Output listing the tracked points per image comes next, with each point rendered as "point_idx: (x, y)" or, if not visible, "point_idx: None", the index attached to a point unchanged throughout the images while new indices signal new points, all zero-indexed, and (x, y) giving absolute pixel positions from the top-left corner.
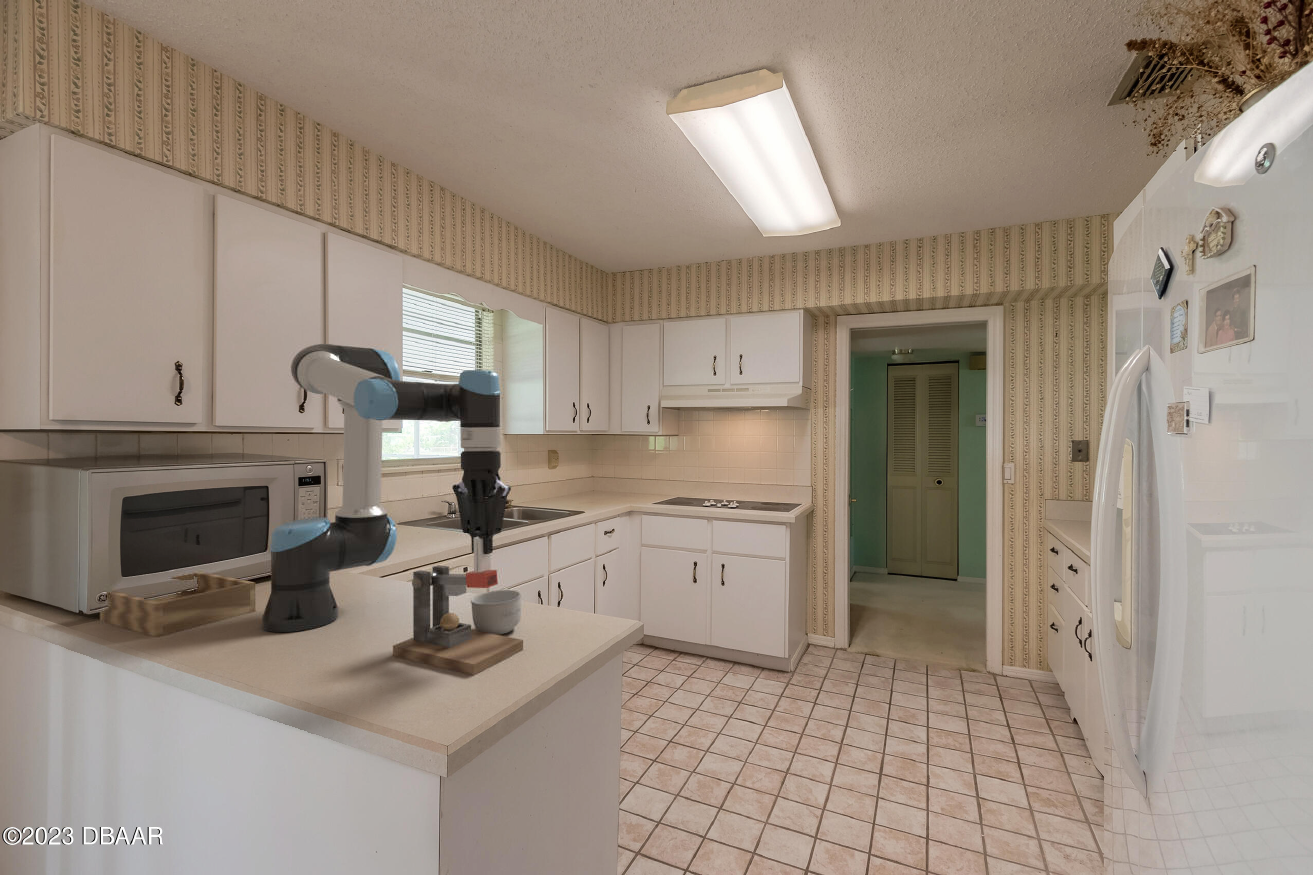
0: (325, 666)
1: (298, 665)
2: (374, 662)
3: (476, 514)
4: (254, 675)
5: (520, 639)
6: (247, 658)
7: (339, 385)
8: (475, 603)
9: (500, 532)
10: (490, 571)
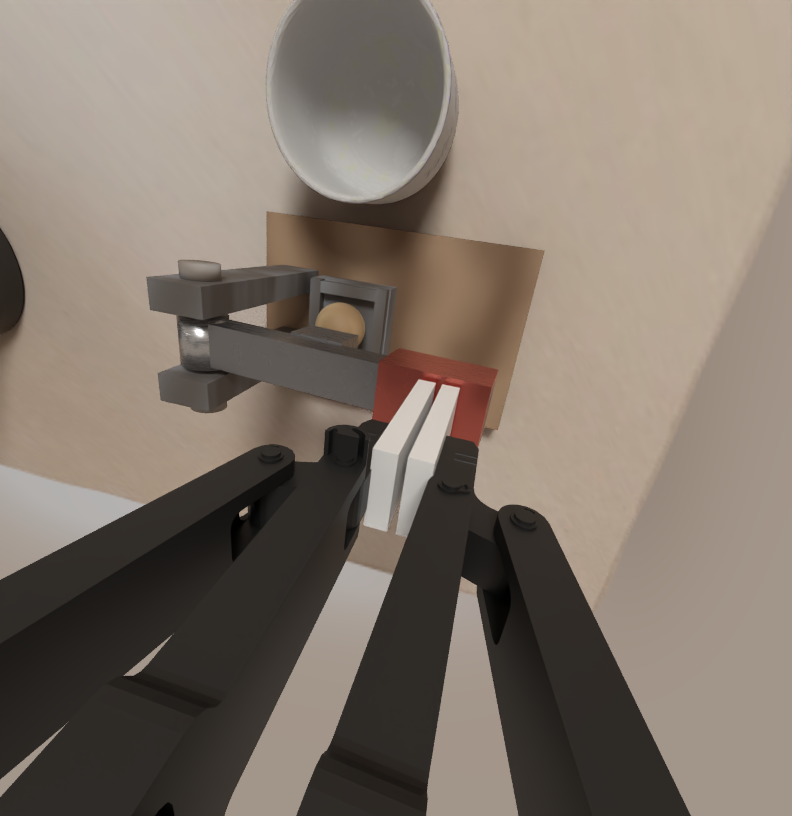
0: (218, 443)
1: (179, 448)
2: (274, 410)
3: (299, 636)
4: (164, 490)
5: (534, 249)
6: (91, 442)
7: None
8: (329, 198)
9: (541, 518)
10: (478, 418)
